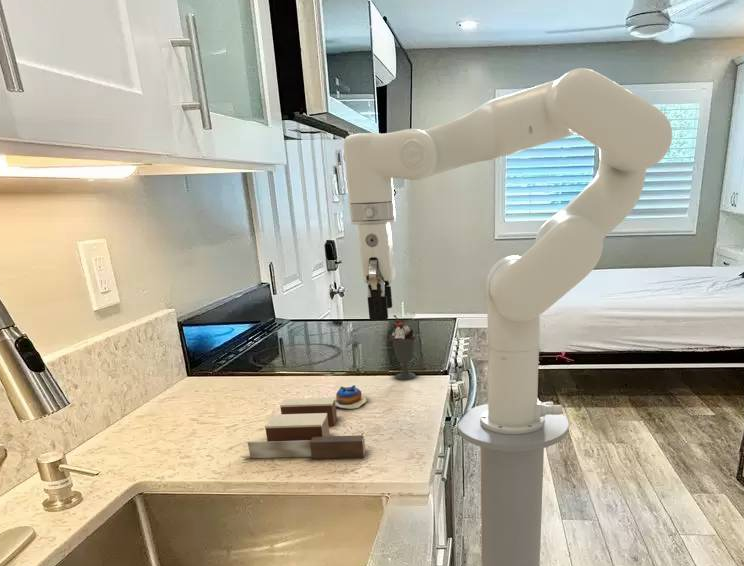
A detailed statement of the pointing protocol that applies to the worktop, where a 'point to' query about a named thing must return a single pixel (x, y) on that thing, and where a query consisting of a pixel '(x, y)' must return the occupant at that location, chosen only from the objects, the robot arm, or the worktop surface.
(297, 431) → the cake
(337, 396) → the dessert
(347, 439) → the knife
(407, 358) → the sundae
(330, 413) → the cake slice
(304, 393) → the worktop surface
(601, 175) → the robot arm
